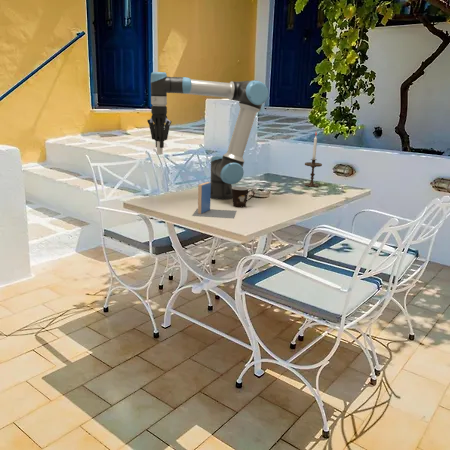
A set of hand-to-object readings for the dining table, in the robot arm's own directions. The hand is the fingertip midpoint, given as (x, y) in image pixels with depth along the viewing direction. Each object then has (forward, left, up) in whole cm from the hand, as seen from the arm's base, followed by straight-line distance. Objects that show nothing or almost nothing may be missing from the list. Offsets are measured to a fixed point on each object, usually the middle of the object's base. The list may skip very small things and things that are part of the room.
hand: (159, 154), depth 233 cm
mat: (+11, +30, -26) cm, 41 cm away
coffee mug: (-6, +42, -27) cm, 50 cm away
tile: (+9, +24, -26) cm, 37 cm away
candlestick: (-74, +82, -27) cm, 113 cm away
